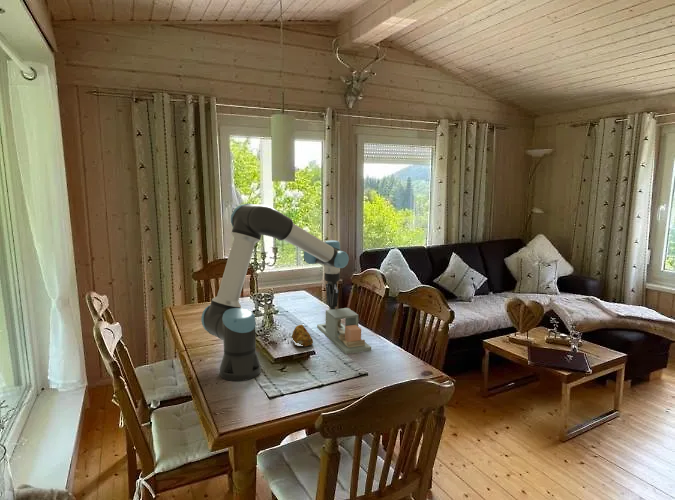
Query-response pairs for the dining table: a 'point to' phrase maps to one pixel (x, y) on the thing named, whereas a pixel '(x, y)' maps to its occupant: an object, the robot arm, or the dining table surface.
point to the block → (352, 333)
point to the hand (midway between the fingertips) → (331, 319)
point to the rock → (302, 336)
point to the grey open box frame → (342, 338)
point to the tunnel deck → (332, 328)
